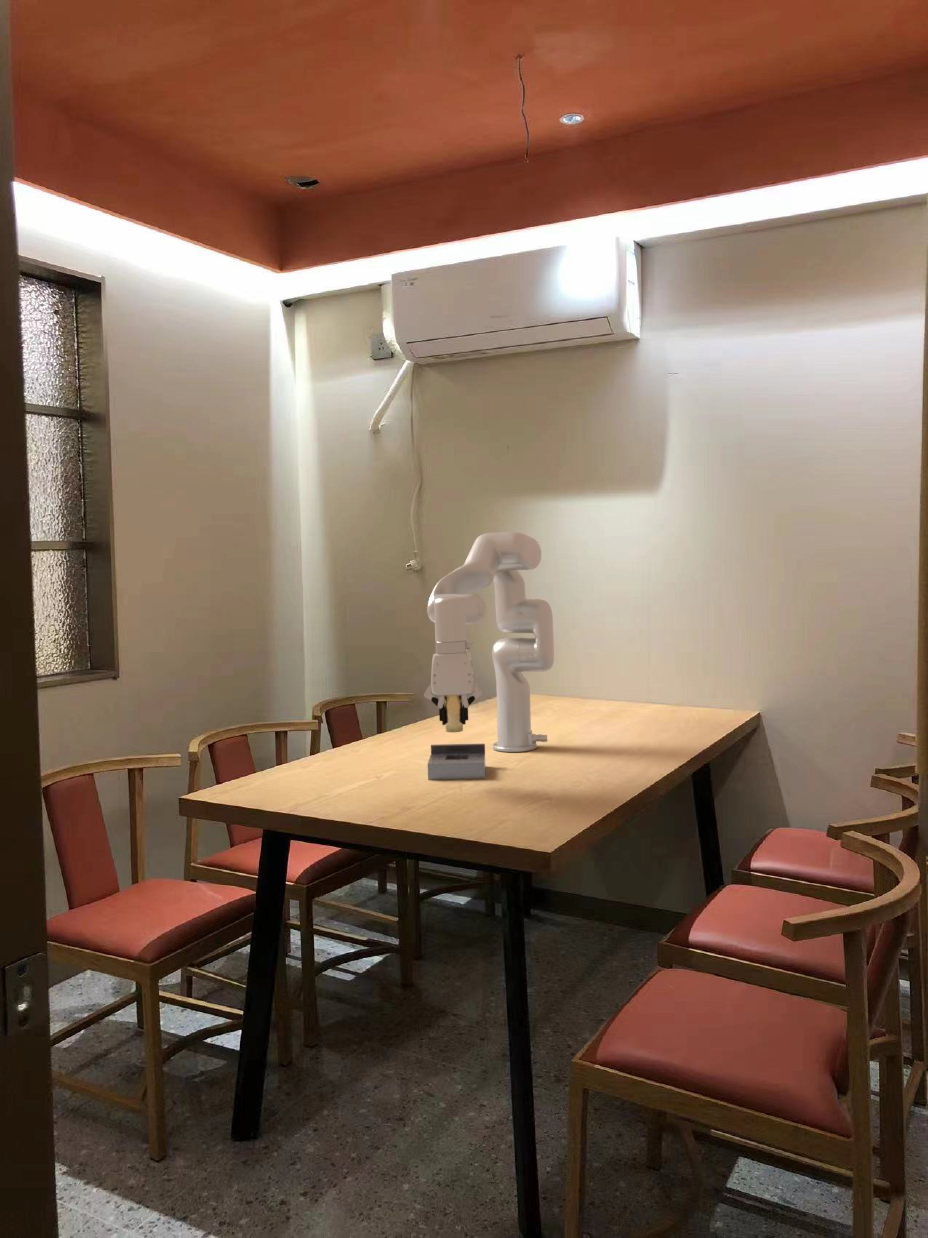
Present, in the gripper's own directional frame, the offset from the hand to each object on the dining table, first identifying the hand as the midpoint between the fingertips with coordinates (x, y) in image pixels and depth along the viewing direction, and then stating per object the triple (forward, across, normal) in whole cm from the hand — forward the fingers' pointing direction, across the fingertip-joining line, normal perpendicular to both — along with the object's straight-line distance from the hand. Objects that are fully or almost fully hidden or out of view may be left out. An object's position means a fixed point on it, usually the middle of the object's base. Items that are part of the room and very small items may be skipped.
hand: (454, 723), depth 234 cm
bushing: (+2, 0, 0) cm, 2 cm away
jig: (+15, 0, -12) cm, 20 cm away
